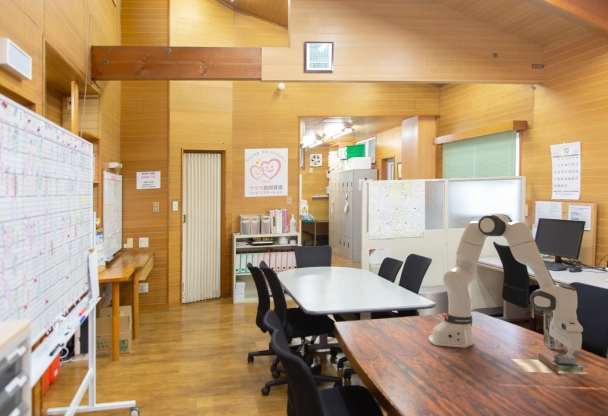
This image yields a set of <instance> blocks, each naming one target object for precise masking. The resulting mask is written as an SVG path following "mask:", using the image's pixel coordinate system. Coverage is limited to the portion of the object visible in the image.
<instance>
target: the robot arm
mask: <svg viewBox="0 0 608 416" xmlns="http://www.w3.org/2000/svg"><path fill="white" fill-rule="evenodd" d="M488 237H503V238H504V239H505V240H506V242H507V244H508V247H509V249H510V252H511V254H512V256H513V258H514V260H515V261H517V262H518V263H520V264H522V265H525V266H527V267H528V268H529V269H530V270H531V271H532V273H533V275H534V276H535V278H536V281H537V283H538V285H539V289H536V290H534V291H532V292H531V294H530V295H529V302H530V304H531V306H532V307H533V308H534V309H535V310H537V311H541V312H552V313H553V318H552V321H551V322H550V327H549V334H550V336H551V337H553V338H554V342H555V348H556V349H555V350H557V351H562V350H561V346H560V343H562V344H563V346H565V347H566V348H567V350H568V351H567V352H566V353H565V355H566V356H567V357H568V358H572V357H574V356H573V355H574V353H575V351H581V349H582V344H583V334H582V333H583V332H584V328H583V326H582V325H581V324H580V322H579V320H578V315H577V309H578V294H577V290H576V288H575V287H573V286H572V285H569V284H566V283H556V282H555V281H554V278H553V277H552V274H551V272H550V270H549V268H548V267H547V264H546V262H545V260H544V258H543V257H542V254H541V253H540V250H539V248H538V245H537V243H536V241H535V238H534V236H533V234H532V232H531V230H530V228H529V227H528V226H527V224H526V223H525V222H524V221H522V220H521V221H520V220H515V221H513V220H512V219H511V217H509V216H508V215H506V214H504V213H503V214H502V213H488V214H484V215H483V216H481V218H480V219H479V220H472V221H470V222H468V223H467V225H466V227H465V229H464V231H463V233H462V236H461V238H460V241H459V244H458V247H457V249H456V258H455V259H456V261H455V265H454V267H452V268H450V269H449V270H447V271H446V272H445V274H444V275H443V279H442V280H443V283H444V284H443V285H445V287H446V291H447V297H448V300H447V301H448V313H445V312H443V313H442V314H441V316H442V317H443V318H444V320H443V321H442V322H440V323H439V324H437V325H436V326H434V328H433V331H432V334H429V335H428V337H427V338H428V341H429V343H431V344H433V345H435V346H442V347H455V348H463V349H466V348H468V347H471V346H473V345H475V340H474V336H473V330H472V329H473V328H472V327H473V315H472V299H471V297H470V292H469V286H471V285H472V284H473V283H474V282H475V280H476V278H477V269H478V265H479V259H480V256H481V254H482V251H483V248H484V244H485V243H486V240H487V238H488Z"/></svg>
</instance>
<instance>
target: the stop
mask: <svg viewBox="0 0 608 416" xmlns="http://www.w3.org/2000/svg"><path fill="white" fill-rule="evenodd" d="M553 360H554V362H555V363H556V364H558V366H576V363H577V359H576V357H575V356H573V357H572V358H568V357H567V356H566V354H563V353H562V354H561V353H560V354H558V353H555V354H553Z"/></svg>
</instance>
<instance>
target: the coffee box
mask: <svg viewBox="0 0 608 416" xmlns="http://www.w3.org/2000/svg"><path fill="white" fill-rule="evenodd" d="M552 318H553V312H543V344H544V345H545V346H546V347H547V348H549V350H557V349H556V348H555V342H554V338H553V337H551V336H550V334H549V327H550V322H551V321H552ZM560 346H561V350H560V351H564V345H563V344H562V343H560Z"/></svg>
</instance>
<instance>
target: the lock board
mask: <svg viewBox="0 0 608 416" xmlns="http://www.w3.org/2000/svg"><path fill="white" fill-rule="evenodd" d="M510 360H511V361H512V362H513V363H514V364H515V365H516V366H518V367H519V368H520V370H522V371H523V372H524V373H538V374H539V373H543V374H545V373H547V374H568V375H569V374H572V375H573V374H575V375H589V373H588V372H587V371H585V370H584V367H583V366H582V365H580V363H578V362H576V366H558V364H556V363H555V362H554V359H551V358H550V357H548V356H547V355H545V354H544V353H543V352H542V353H541V352H539V353H538V359H531V358H530V359H529V358H528V359H527V358H526V359H525V358H522V359H521V358H510Z"/></svg>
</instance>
